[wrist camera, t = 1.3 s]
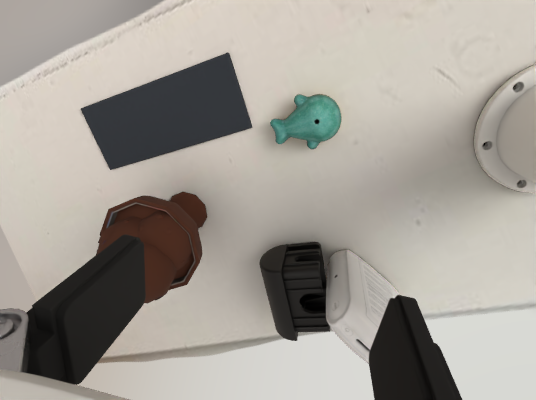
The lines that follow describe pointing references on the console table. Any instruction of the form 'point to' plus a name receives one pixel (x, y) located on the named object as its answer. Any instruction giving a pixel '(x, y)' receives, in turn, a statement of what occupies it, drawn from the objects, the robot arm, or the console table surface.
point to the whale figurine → (309, 120)
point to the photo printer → (355, 300)
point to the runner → (169, 113)
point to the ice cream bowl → (160, 237)
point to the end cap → (296, 288)
